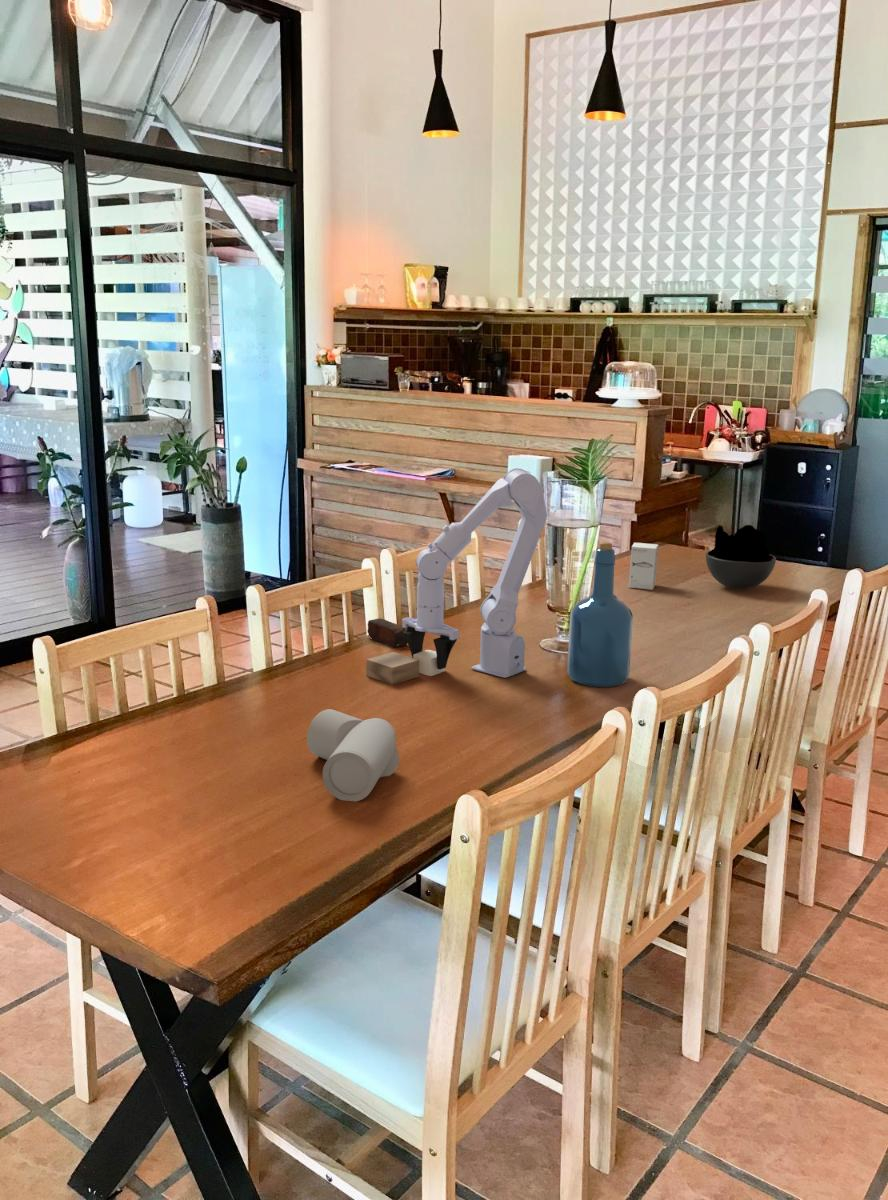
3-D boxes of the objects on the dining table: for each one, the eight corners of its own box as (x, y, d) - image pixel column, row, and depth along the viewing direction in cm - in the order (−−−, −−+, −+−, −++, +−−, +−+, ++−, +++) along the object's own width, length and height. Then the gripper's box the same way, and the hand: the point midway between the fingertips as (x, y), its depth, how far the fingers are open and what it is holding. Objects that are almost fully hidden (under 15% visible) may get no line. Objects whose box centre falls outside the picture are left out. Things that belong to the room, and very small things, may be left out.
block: (445, 671, 227) (445, 654, 226) (430, 676, 223) (430, 659, 222) (427, 666, 230) (428, 649, 229) (413, 671, 226) (413, 654, 225)
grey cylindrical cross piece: (435, 769, 172) (351, 738, 185) (426, 714, 168) (341, 686, 181) (361, 825, 161) (277, 788, 173) (349, 768, 156) (264, 734, 169)
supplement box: (627, 588, 305) (630, 546, 302) (631, 582, 312) (633, 541, 309) (653, 590, 303) (656, 548, 300) (655, 585, 310) (658, 543, 307)
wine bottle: (627, 691, 216) (637, 550, 208) (564, 686, 218) (571, 546, 211) (629, 671, 229) (638, 538, 221) (569, 666, 231) (576, 534, 224)
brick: (367, 639, 250) (367, 620, 249) (379, 636, 253) (379, 617, 251) (395, 649, 242) (395, 629, 241) (408, 646, 245) (408, 626, 244)
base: (418, 677, 223) (419, 659, 222) (392, 685, 217) (392, 667, 216) (393, 669, 228) (393, 651, 227) (366, 677, 222) (366, 659, 221)
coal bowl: (780, 587, 311) (786, 525, 306) (762, 600, 294) (768, 535, 290) (715, 577, 321) (720, 518, 316) (693, 590, 304) (699, 527, 300)
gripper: (392, 602, 224) (392, 661, 228) (444, 614, 215) (443, 676, 219) (414, 596, 229) (413, 654, 233) (465, 608, 220) (463, 668, 224)
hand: (429, 664), depth 226 cm, fingers open, 6 cm apart
